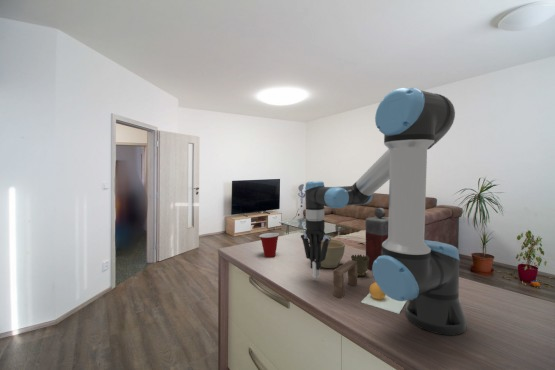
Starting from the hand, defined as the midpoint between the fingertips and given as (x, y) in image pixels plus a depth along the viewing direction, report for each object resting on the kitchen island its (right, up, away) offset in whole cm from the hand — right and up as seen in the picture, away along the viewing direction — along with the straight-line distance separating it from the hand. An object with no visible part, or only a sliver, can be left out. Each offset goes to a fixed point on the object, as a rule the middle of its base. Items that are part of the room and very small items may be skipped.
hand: (315, 276), depth 104 cm
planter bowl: (+9, -1, +19) cm, 21 cm away
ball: (+19, +1, -15) cm, 25 cm away
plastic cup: (-20, -1, +34) cm, 40 cm away
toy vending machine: (+32, -1, +13) cm, 35 cm away
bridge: (+10, -2, -8) cm, 13 cm away
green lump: (+20, -2, +6) cm, 21 cm away
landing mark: (+21, -2, -17) cm, 27 cm away
